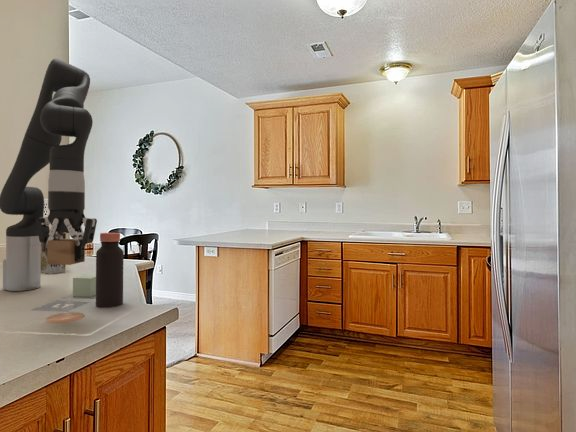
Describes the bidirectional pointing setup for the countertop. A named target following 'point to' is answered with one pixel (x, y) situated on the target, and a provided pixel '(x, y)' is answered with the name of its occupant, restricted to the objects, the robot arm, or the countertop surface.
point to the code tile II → (79, 297)
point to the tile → (60, 306)
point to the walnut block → (61, 252)
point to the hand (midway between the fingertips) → (66, 260)
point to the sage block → (84, 286)
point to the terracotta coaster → (65, 317)
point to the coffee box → (50, 267)
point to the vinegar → (109, 271)
